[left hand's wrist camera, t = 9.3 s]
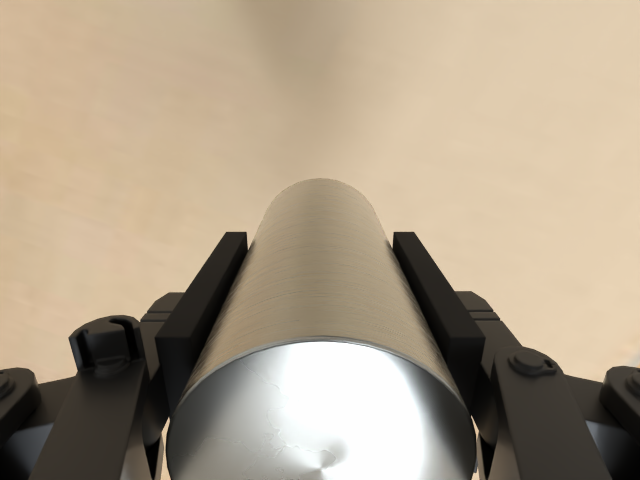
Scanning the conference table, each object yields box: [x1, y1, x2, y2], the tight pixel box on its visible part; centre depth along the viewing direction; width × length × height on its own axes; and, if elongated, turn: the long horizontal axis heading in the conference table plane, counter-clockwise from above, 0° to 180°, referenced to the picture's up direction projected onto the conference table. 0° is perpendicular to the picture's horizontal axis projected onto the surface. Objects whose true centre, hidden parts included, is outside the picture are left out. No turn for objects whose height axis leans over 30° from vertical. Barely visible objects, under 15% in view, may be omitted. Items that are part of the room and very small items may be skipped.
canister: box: [166, 178, 477, 480], centre depth 12 cm, size 6×6×12 cm
